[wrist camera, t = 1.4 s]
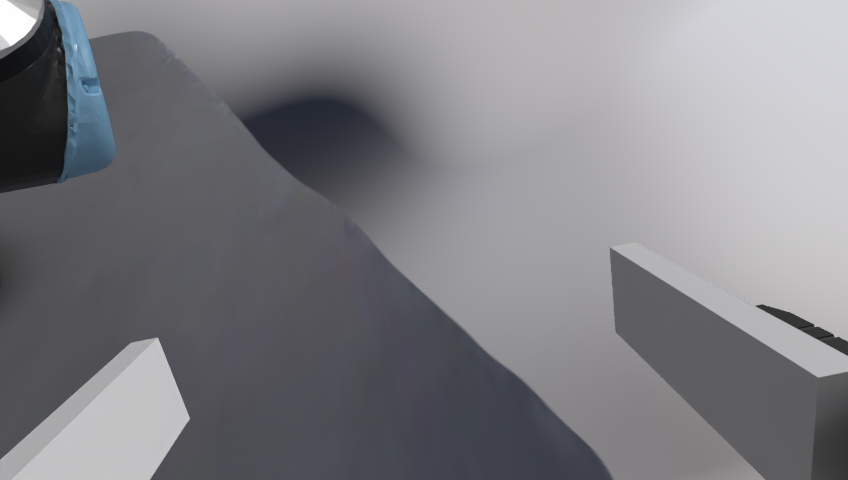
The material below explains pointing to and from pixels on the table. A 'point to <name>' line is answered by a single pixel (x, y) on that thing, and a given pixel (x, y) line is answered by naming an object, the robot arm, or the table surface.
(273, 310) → the table surface
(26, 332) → the table surface
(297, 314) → the table surface
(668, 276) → the robot arm
